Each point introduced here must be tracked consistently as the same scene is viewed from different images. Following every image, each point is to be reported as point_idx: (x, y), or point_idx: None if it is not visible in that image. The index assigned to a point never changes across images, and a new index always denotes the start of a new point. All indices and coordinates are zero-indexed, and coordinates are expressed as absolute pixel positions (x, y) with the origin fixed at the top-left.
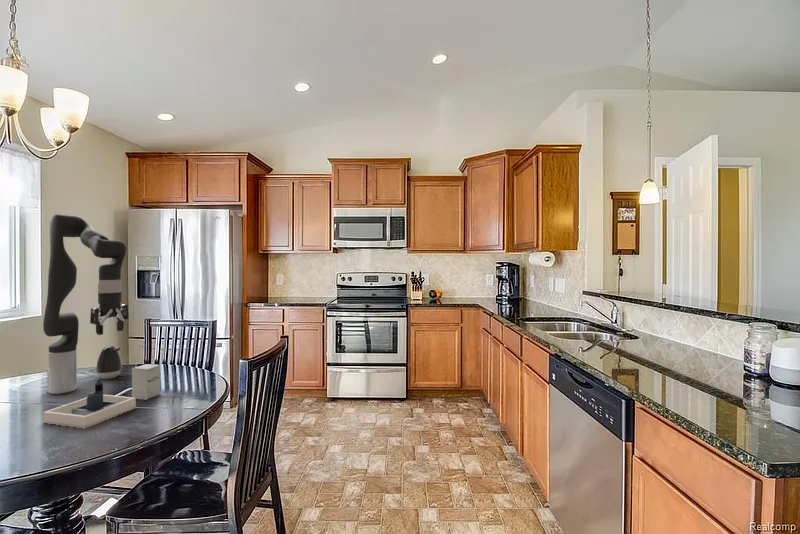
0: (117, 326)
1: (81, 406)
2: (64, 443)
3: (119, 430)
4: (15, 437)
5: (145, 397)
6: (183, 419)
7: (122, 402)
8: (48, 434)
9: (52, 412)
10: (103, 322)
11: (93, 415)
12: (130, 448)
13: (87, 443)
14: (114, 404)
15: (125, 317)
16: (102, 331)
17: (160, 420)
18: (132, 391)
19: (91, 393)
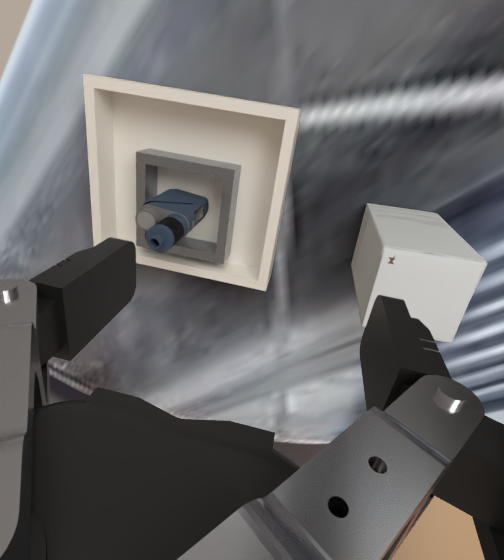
0: (384, 328)
1: (164, 165)
2: (42, 256)
3: (129, 324)
4: (17, 94)
5: (352, 263)
6: (212, 417)
7: (217, 278)
8: (60, 173)
9: (90, 115)
10: (48, 389)
11: None
12: (73, 386)
13: None
14: (204, 259)
15: (478, 522)
16: (110, 310)
17: (198, 377)
18: (368, 213)
19: (139, 225)
